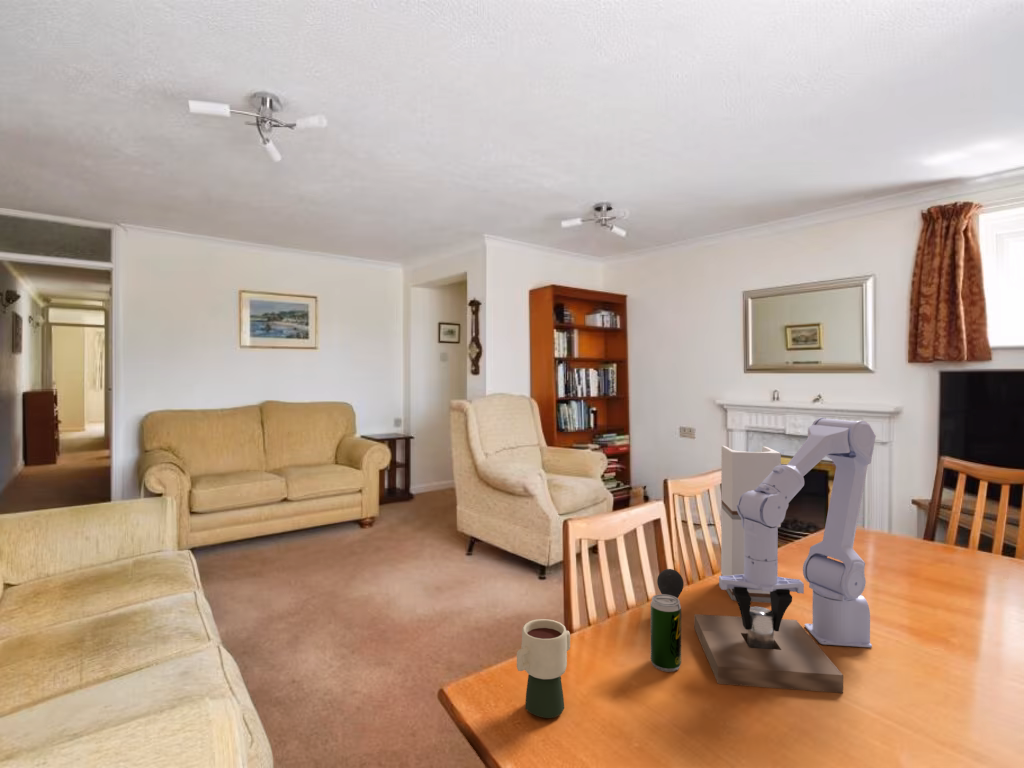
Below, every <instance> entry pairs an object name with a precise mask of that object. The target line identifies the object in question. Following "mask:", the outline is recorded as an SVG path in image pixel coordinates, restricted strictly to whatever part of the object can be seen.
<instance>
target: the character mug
mask: <svg viewBox="0 0 1024 768" xmlns="http://www.w3.org/2000/svg"><path fill="white" fill-rule="evenodd" d="M520 647H521V648H520V649H518V650H517V651H516V668H517V671H518V672H523V671H525V672H526V673H527V674H528V677H527V682H526V683H527V685H526V689H525V691H526V692H525V702H524V703H525V704H524V705H525V706H524V708H525V710H527V712H529V713H530V714H531V715H534V716H535V717H541V718H543V719H544V718H545V719H552V718H557V717H558V716H560V715H561V714H562V713H563V711H564V709H565V697H564V692H563V683H562V677H561V676H562V675H564V674H565V673H566V670H567V665H568V661H567V660H568V653H567V652H568V651H569V650H570V648H571V633H570V631H569V630H567V628H566V626H565V625H564V624H562V622H560V621H556V620H553V619H548V618H546V619H545V618H544V619H543V618H542V619H541V618H539V619H538V618H537V619H533V620H529V621H527V622H526V623H525V624H523V626H522V629H521V646H520Z"/></svg>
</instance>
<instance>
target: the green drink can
mask: <svg viewBox="0 0 1024 768" xmlns="http://www.w3.org/2000/svg"><path fill="white" fill-rule="evenodd" d="M680 602H681V601H680V599H679V597H678V598H676V597H674V596H671V595H666V594H660V593H659V594H655V595H653V596H652V597H651V602H650V661H651V664H652V666H653V667H654V668H655V669H657V670H658V671H662V672H666V673H671V672H677V671H678V670H679V669H680V666H681V664H682V605H681V603H680Z"/></svg>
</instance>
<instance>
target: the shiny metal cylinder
mask: <svg viewBox="0 0 1024 768" xmlns="http://www.w3.org/2000/svg"><path fill="white" fill-rule="evenodd" d="M747 645H748V647H749V648H760V649H774V613H773V612H772V611H771V609H769V608H766V607H763V606H750V630H747Z"/></svg>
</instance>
